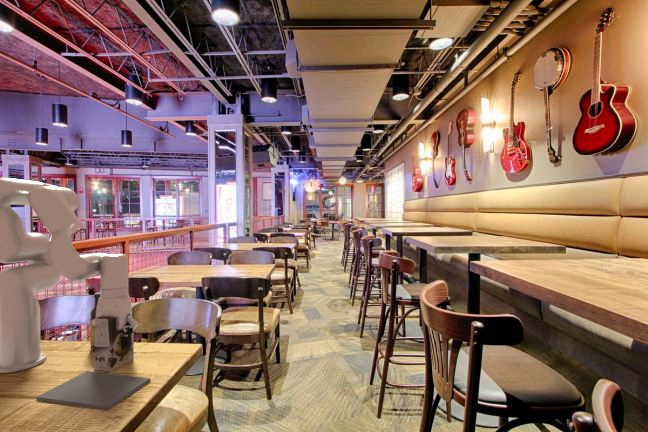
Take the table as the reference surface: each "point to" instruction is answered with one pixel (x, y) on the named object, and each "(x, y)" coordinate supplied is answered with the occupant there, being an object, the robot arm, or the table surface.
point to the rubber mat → (94, 390)
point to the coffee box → (110, 345)
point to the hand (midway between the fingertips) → (115, 346)
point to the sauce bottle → (93, 316)
